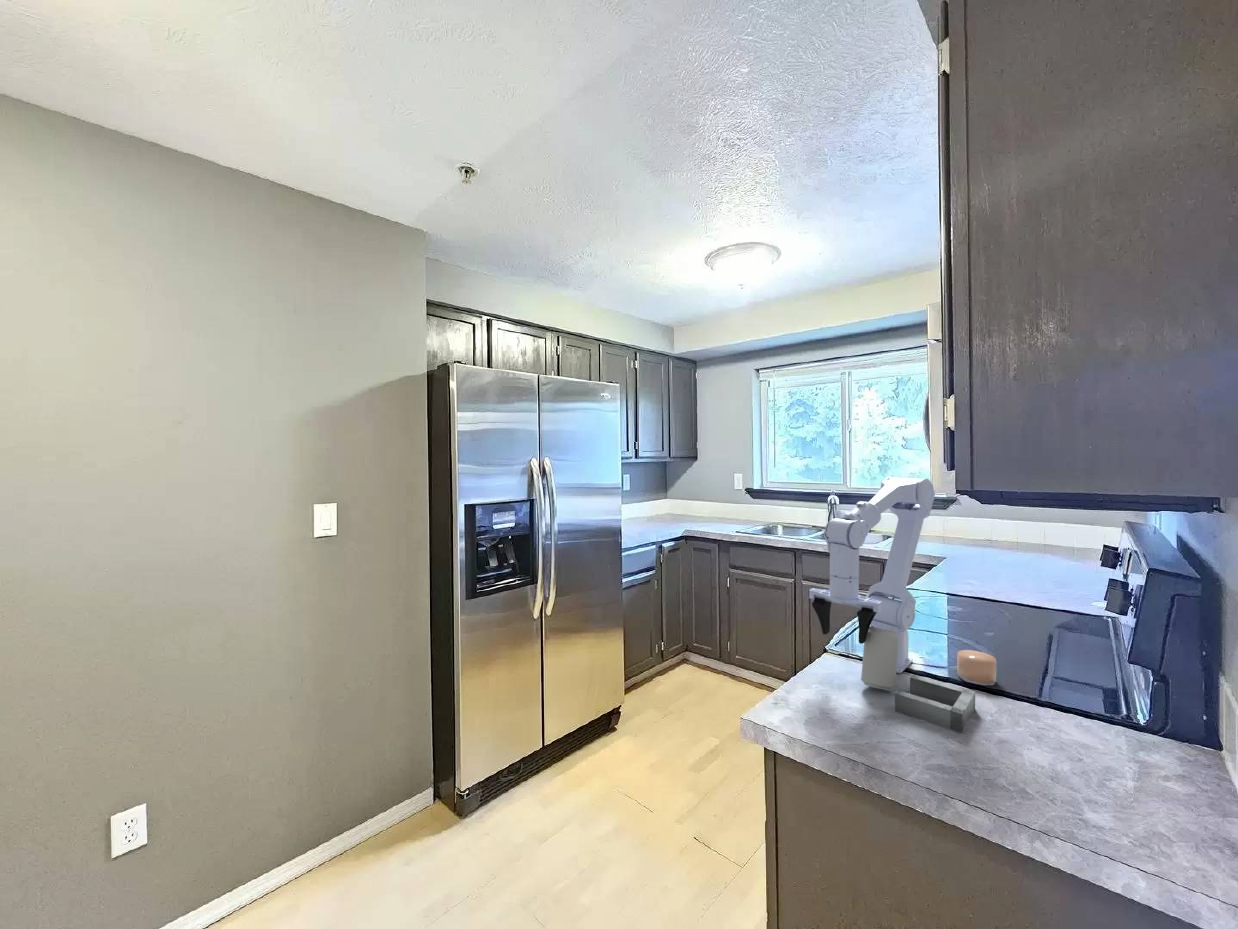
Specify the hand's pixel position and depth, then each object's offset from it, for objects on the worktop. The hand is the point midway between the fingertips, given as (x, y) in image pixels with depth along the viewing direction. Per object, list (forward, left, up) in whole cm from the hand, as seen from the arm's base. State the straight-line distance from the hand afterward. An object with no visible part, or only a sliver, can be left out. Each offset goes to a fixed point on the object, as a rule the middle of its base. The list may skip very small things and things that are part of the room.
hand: (843, 637), depth 112 cm
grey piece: (0, +17, -10) cm, 20 cm away
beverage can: (0, +7, -9) cm, 11 cm away
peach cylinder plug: (-21, +20, -10) cm, 31 cm away
